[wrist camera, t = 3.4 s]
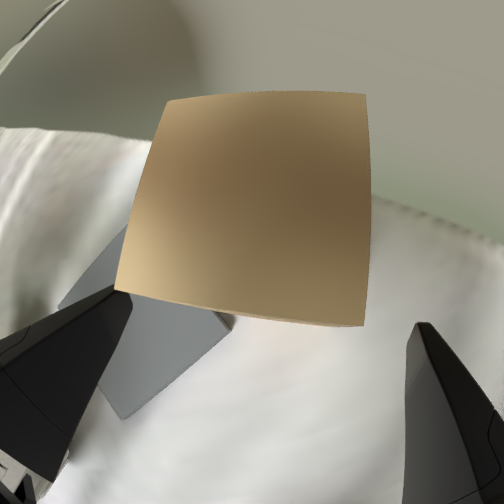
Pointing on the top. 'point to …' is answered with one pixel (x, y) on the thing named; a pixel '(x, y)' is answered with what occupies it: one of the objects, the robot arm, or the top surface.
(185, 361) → the rubber mat
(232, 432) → the top surface
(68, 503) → the top surface
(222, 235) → the oak block
